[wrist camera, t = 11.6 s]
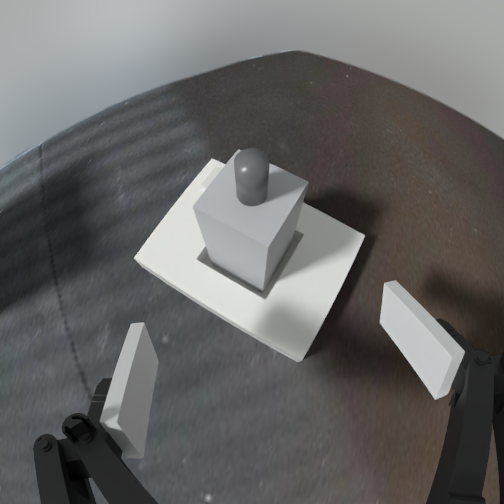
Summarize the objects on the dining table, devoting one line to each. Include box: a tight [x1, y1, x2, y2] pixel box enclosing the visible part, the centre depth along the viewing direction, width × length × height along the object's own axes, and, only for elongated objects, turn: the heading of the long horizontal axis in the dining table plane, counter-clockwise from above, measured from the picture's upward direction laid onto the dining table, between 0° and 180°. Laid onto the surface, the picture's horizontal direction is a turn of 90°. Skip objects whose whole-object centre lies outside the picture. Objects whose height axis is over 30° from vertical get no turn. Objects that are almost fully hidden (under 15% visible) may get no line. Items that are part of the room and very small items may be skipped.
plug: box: [193, 148, 308, 294], centre depth 21 cm, size 6×5×13 cm
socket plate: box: [134, 159, 365, 362], centre depth 26 cm, size 16×12×3 cm
